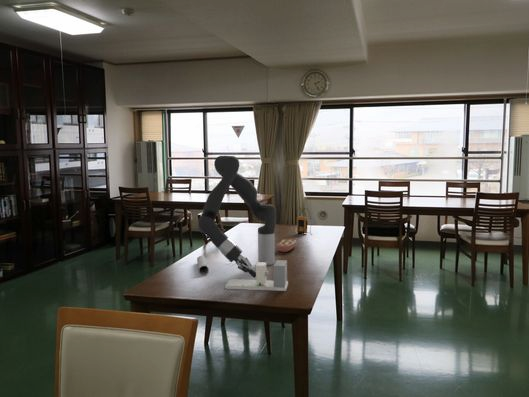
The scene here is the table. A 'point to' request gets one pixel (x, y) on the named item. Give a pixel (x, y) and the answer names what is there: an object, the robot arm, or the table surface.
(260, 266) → the block
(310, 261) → the table surface
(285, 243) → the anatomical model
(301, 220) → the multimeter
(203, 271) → the tube
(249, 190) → the robot arm
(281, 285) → the base
